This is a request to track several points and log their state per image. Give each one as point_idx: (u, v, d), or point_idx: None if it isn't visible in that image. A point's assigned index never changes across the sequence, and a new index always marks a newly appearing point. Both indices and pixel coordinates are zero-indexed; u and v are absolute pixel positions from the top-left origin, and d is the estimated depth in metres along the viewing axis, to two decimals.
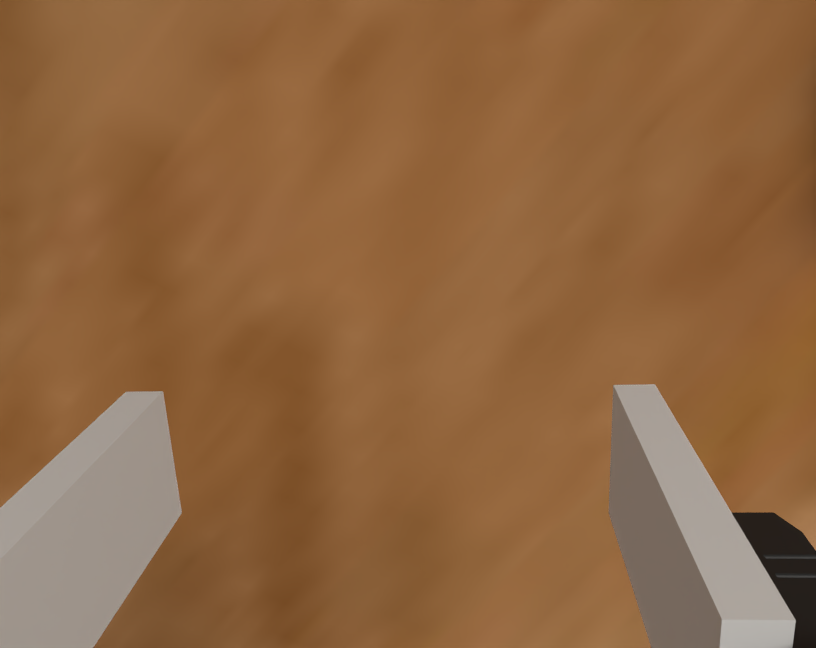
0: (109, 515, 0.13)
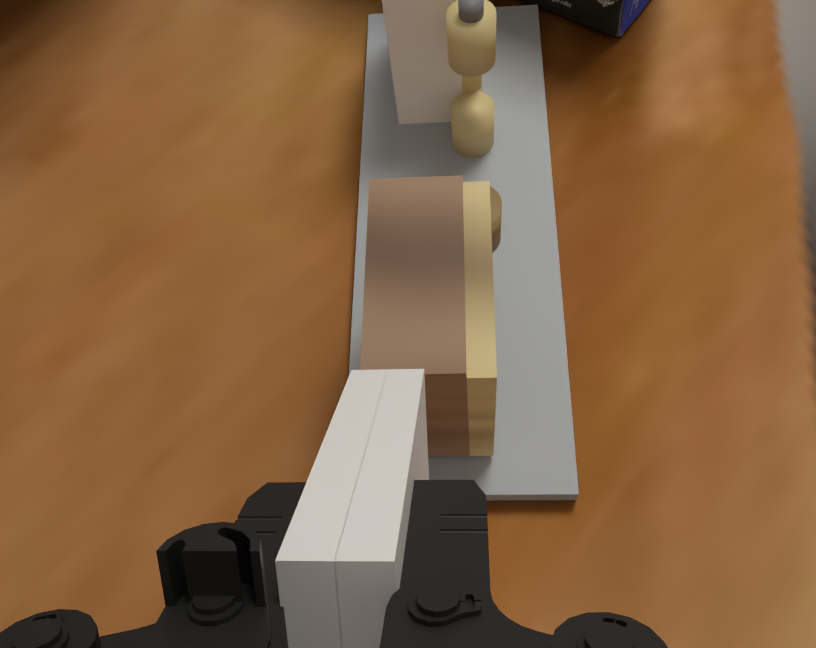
0: None
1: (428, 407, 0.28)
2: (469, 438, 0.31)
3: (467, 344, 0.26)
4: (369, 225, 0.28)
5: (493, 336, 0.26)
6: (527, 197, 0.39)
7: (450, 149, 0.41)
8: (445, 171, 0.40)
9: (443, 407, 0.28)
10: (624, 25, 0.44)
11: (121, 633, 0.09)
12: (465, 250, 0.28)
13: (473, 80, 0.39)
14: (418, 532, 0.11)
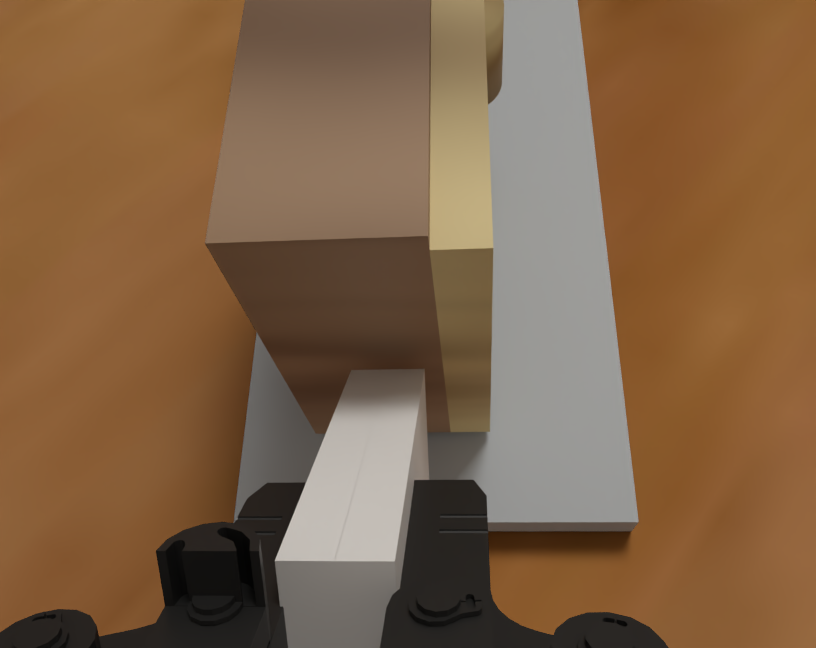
0: None
1: (363, 328, 0.15)
2: (447, 397, 0.18)
3: (433, 187, 0.13)
4: None
5: (486, 171, 0.13)
6: (543, 61, 0.26)
7: None
8: None
9: (392, 328, 0.15)
10: None
11: (122, 632, 0.09)
12: (433, 25, 0.14)
13: None
14: (418, 532, 0.11)
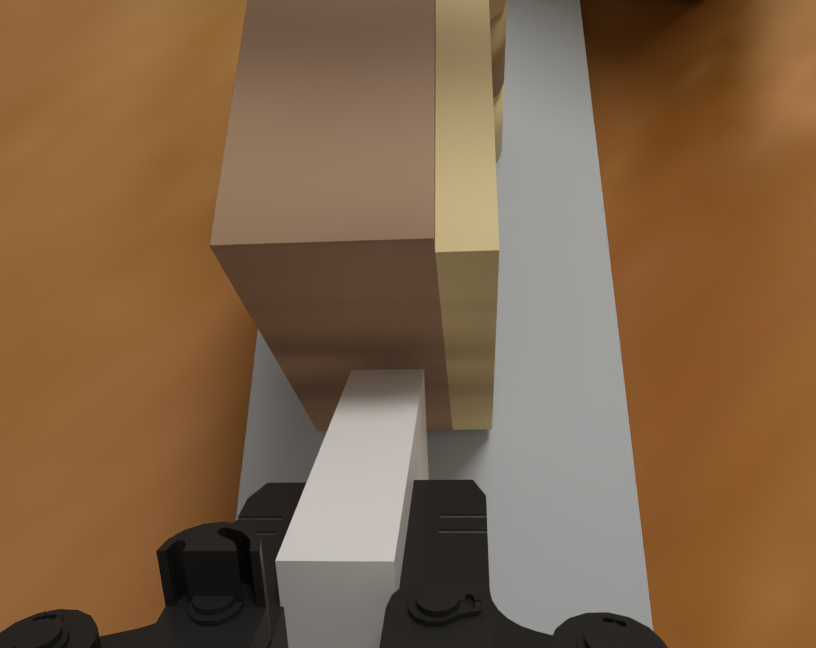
0: None
1: (367, 328, 0.15)
2: (449, 396, 0.18)
3: (438, 188, 0.13)
4: None
5: (492, 172, 0.13)
6: (561, 248, 0.22)
7: None
8: None
9: (395, 329, 0.15)
10: None
11: (123, 632, 0.09)
12: (438, 23, 0.14)
13: None
14: (418, 532, 0.11)
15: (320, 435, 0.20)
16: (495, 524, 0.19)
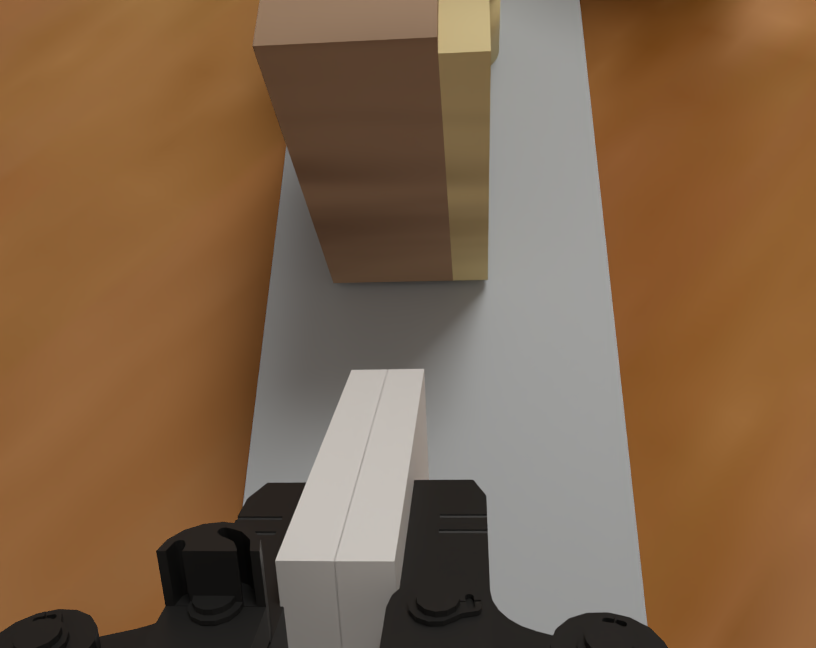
0: None
1: (380, 147, 0.17)
2: (450, 235, 0.20)
3: (441, 7, 0.15)
4: None
5: None
6: (551, 132, 0.25)
7: None
8: None
9: (404, 148, 0.17)
10: None
11: (123, 632, 0.09)
12: None
13: None
14: (418, 532, 0.11)
15: (335, 286, 0.23)
16: (490, 355, 0.21)
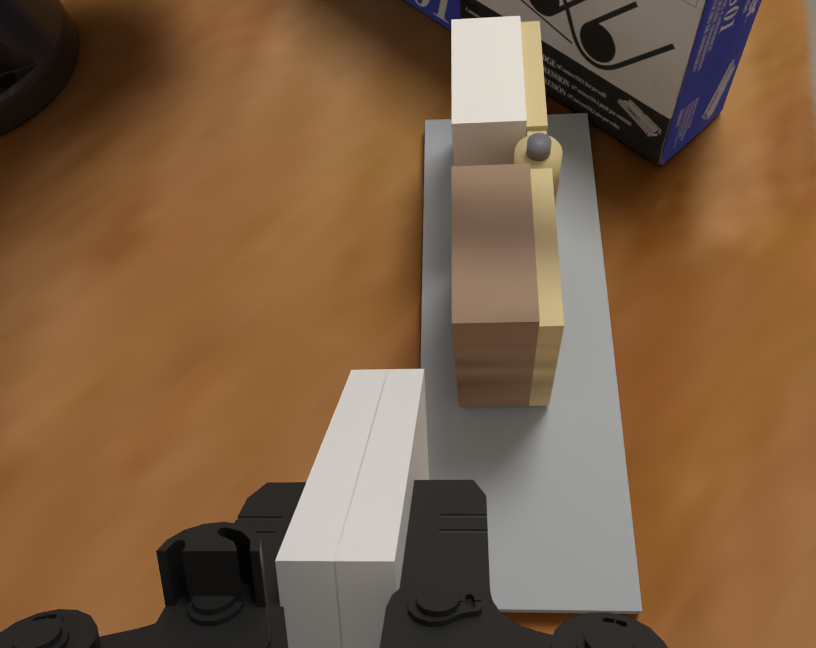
0: None
1: (502, 355, 0.34)
2: (531, 387, 0.37)
3: (538, 299, 0.32)
4: (453, 204, 0.34)
5: (560, 293, 0.32)
6: (583, 309, 0.41)
7: None
8: None
9: (514, 355, 0.34)
10: (666, 155, 0.46)
11: (122, 633, 0.09)
12: (534, 224, 0.33)
13: None
14: (418, 532, 0.11)
15: (459, 407, 0.39)
16: (551, 451, 0.38)
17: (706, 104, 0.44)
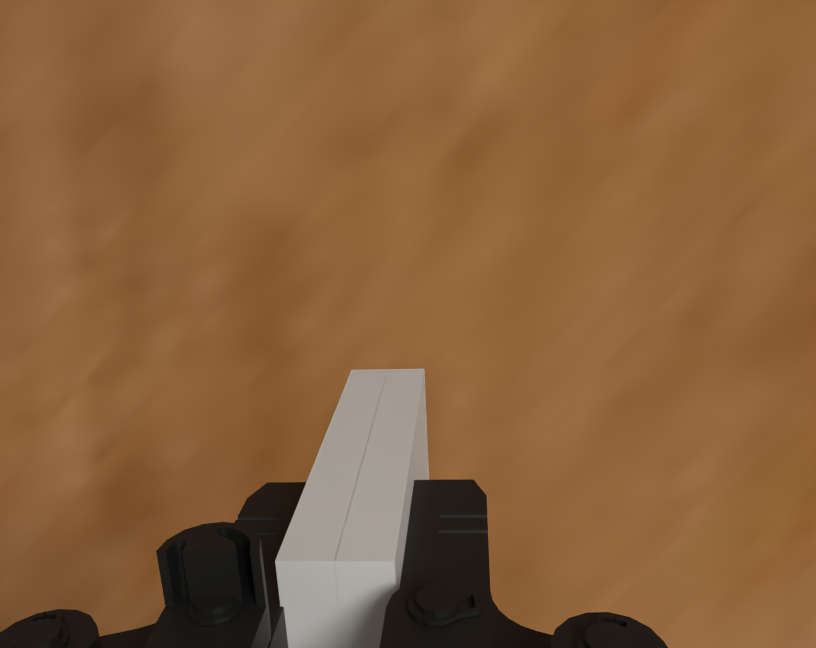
0: None
1: None
2: None
3: None
4: None
5: None
6: None
7: None
8: None
9: None
10: None
11: (121, 633, 0.09)
12: None
13: None
14: (418, 532, 0.11)
15: None
16: None
17: None
